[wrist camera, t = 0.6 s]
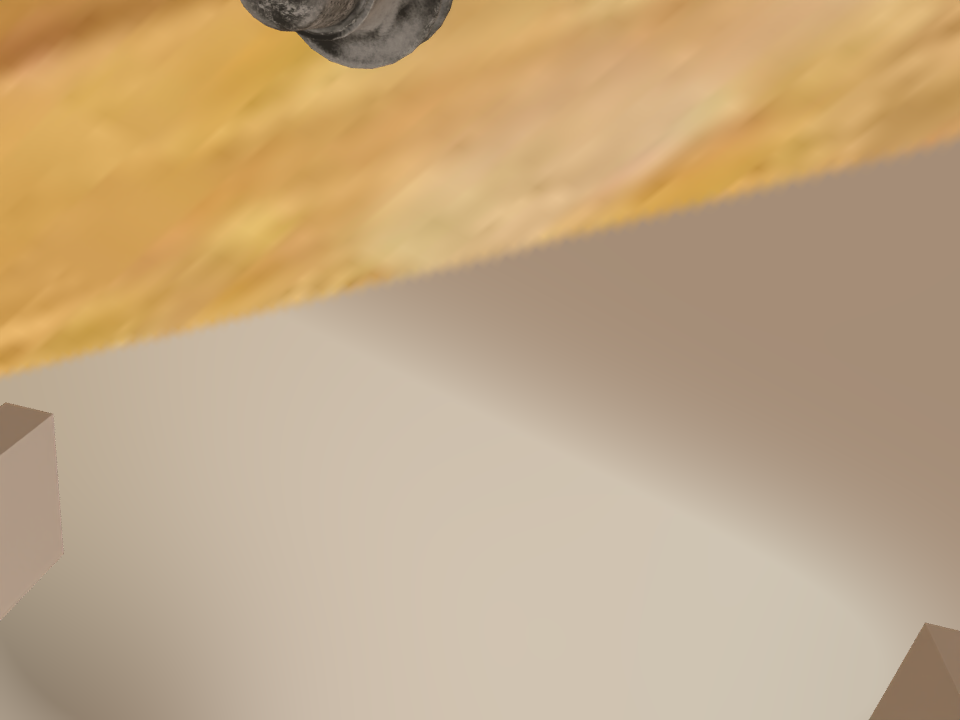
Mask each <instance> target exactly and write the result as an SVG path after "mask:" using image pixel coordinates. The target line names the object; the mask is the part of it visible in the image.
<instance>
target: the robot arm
mask: <svg viewBox="0 0 960 720" xmlns="http://www.w3.org/2000/svg"><path fill="white" fill-rule="evenodd" d="M63 554H64V550H63V538H62V524H61V510H60V497H59V484H58V471H57V457H56V445H55V432H54V418H53V414H51V413H47V412H43V411H39V410H35V409H31V408H26V407H22V406H18V405H14V404H10V403H4V404H3V405H1V406H0V621H1V619H2V618H3V617H4V616H5V615H6V614H7V613H8V612H9V611H10V610H11V609H12V608H13V607H14V606H15V605H16V604H17V603H18V601H20V600H21V598H22V597H23V596H24V595H25V594H26V593H27V592H28V591H29V590H30V589H31V588H32V587H33V586H34V584H36V583H37V582H38V581H39V579H40V578H41V577H42V576H43V575H44V574H45V573H46V572H47V571H48V570H49V569H50V568H51V567H52V566H53V565H54V564H55V563H56V562H57V561H58V560H59V558H60V557H61V556H62V555H63ZM869 720H960V631H958V630H954V629H949V628H945V627H941V626H937V625H933V624H929V623H925V624H924V626H923V628H922V629H921V631H920V632H919V634H918V636H917V638H916V639H915V641H914V643H913V645H912V646H911V648H910V650H909V652H908V653H907V655H906V657H905V659H904V660H903V662H902V664H901V665H900V667H899V669H898V671H897V673H896V674H895V676H894V678H893V679H892V681H891V683H890V685H889V686H888V688H887V690H886V691H885V693H884V695H883V697H882V698H881V700H880V702H879V704H878V705H877V707H876V709H875V710H874V712H873V714H872V716H871V717H870V719H869Z"/></svg>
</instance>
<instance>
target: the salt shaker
mask: <svg viewBox="0 0 960 720" xmlns="http://www.w3.org/2000/svg"><path fill="white" fill-rule="evenodd" d="M452 1H453V0H241V2H242V4H243V6H244V7H245V8H246V9H247V10H248V12H249V13H250V14H251V15H252V16H253V17H254V18H256V19H257V20H259V21H260V22H261V23H263V24H264V25H266V26H268V27H271V28H274V29H277V30H280V31H295V32H297V33H298V35H299V36H300V37H301V38H302V39H303V40H304V41H305V42H306V43H307V44H308V45H309V46H310V48H311V49H313V50H314V51H316V52H317V53H319V54H320V55H322V56H323V57H325V58H326V59H328V60H329V61H332V62H335V63H338V64H341V65H344V66H347V67H350V68H364V69H374V68H378V67H382V66H386V65H390V64H393V63H395V62H397V61H398V60H400V59H402V58H404V57H405V56H407V55H409V54H410V53H412V52H413V51H414V50H415V49H416V48H417V47H418V46H419V45H420V44H421V43H423V42H425V41H427V40H428V39H429V38H430V37H431V36H432V35H433V34H434V33H435V32H436V31H437V30H438V29H439V28H440V27H441V25H442V24H443V22H444V20H445V18H446V16H447V14H448V12H449V11H450V8H451V5H452Z"/></svg>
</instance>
